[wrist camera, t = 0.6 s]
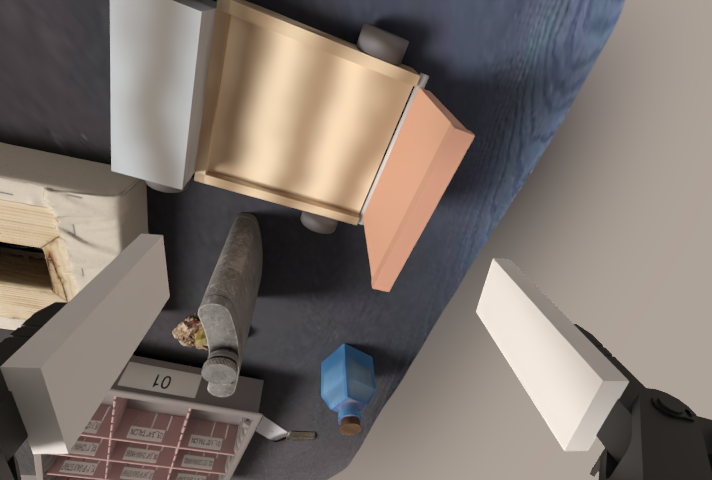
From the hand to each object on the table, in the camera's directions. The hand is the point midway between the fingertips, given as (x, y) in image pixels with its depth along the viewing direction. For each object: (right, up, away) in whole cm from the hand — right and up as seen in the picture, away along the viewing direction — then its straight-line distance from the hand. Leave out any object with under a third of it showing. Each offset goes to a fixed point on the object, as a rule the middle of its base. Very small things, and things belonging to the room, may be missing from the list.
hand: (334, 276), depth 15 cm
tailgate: (+4, +10, +24) cm, 26 cm away
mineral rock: (-21, -12, +42) cm, 49 cm away
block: (-11, -39, +62) cm, 74 cm away
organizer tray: (-37, -32, +54) cm, 73 cm away
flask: (-13, -1, +34) cm, 37 cm away
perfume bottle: (-1, -19, +48) cm, 52 cm away
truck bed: (-8, +15, +23) cm, 29 cm away
